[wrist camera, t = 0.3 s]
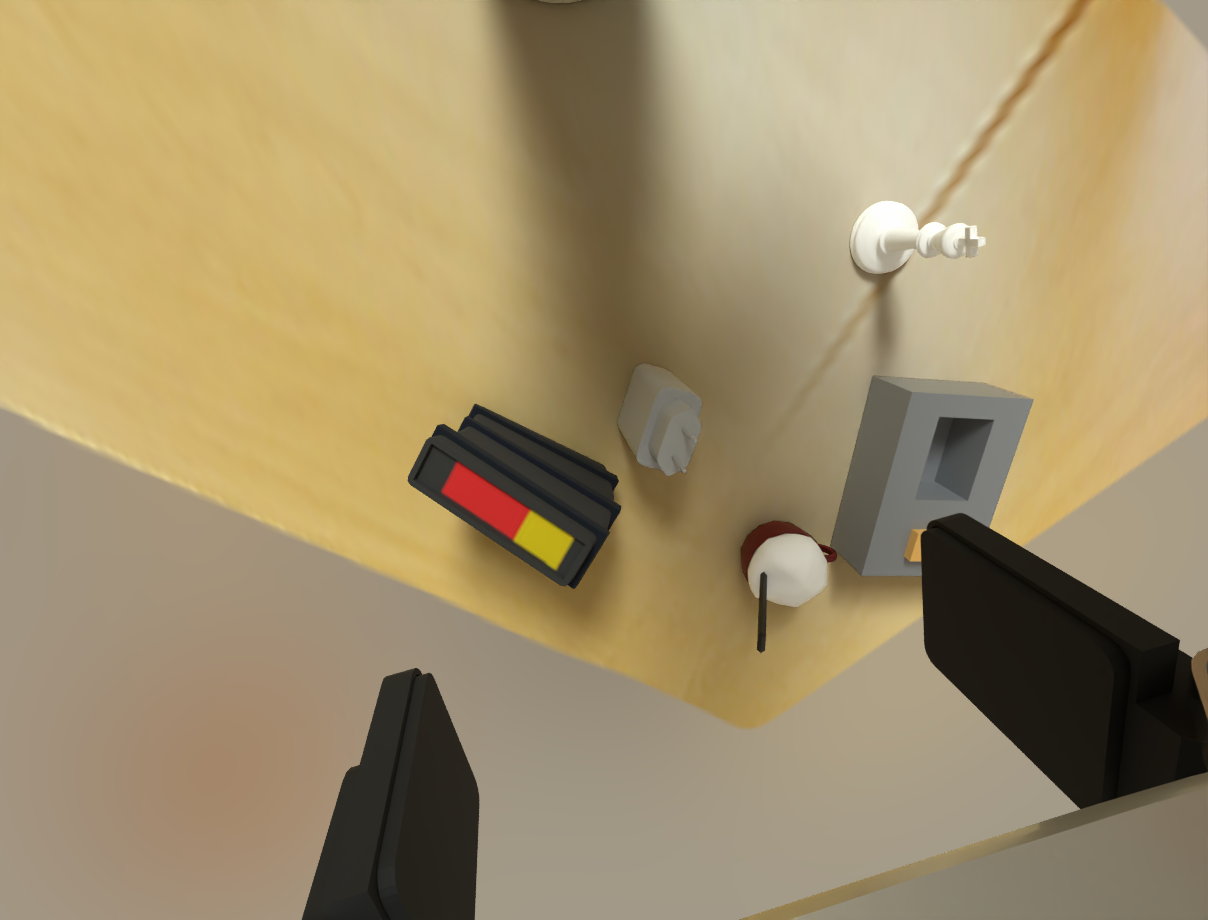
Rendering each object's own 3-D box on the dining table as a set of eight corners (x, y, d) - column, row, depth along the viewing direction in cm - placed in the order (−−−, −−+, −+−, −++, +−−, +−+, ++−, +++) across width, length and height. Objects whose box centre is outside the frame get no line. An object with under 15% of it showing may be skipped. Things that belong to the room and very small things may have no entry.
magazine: (623, 527, 48) (567, 597, 33) (484, 437, 49) (373, 466, 35) (648, 487, 47) (602, 541, 32) (506, 397, 48) (400, 409, 34)
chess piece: (911, 192, 43) (1021, 184, 34) (915, 262, 45) (1021, 273, 36) (846, 212, 43) (939, 209, 34) (853, 281, 45) (943, 297, 36)
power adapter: (676, 371, 45) (732, 419, 34) (652, 438, 47) (698, 505, 36) (637, 360, 45) (681, 405, 34) (614, 429, 46) (650, 493, 35)
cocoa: (825, 522, 52) (913, 604, 41) (794, 585, 54) (871, 680, 43) (725, 496, 50) (789, 575, 39) (696, 563, 52) (750, 657, 41)
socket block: (872, 375, 48) (919, 394, 43) (984, 383, 50) (1042, 402, 44) (830, 545, 53) (867, 581, 48) (932, 546, 55) (979, 581, 50)
